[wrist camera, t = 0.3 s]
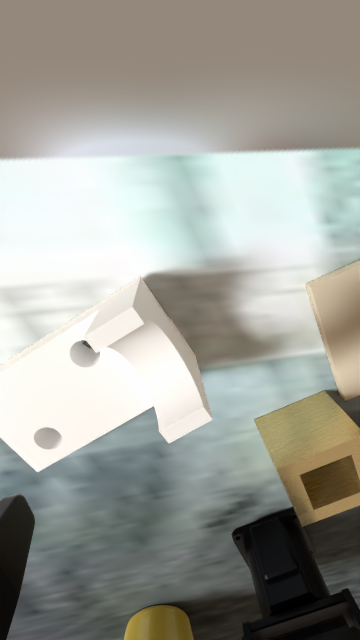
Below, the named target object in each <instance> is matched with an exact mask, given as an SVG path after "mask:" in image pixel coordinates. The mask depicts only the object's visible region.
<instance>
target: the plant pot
mask: <svg viewBox="0 0 360 640" xmlns="http://www.w3.org/2000/svg"><path fill="white" fill-rule="evenodd" d="M124 640H194V638H193V633H192V629H191V625H190V621H189V618H188V616H187V614H186V613H185V612H184V611H183V610H181V609H180V608H177V607H175V606H170V605H155V606H150V607H147V608H144V609H142V610H140V611H139V612H137V613H136V614H135V615H133V616H132V618H131V619H130V620H129V622H128V625H127V629H126V632H125V637H124Z"/></svg>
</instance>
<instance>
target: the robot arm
mask: <svg viewBox="0 0 360 640" xmlns="http://www.w3.org/2000/svg"><path fill="white" fill-rule="evenodd" d="M34 525H35V519H34V515H33V513H32V511H31V509H30V507H29V505H28V503H27V501H26V499H25V497H24V496H23V495H22V494H16V495H11V496H7V497H5V498H3V499H2V500H1V501H0V640H6V638H7V635H8V632H9V628H10V625H11V622H12V619H13V615H14V612H15V609H16V605H17V601H18V598H19V594H20V590H21V586H22V582H23V577H24V572H25V568H26V563H27V558H28V554H29V549H30V544H31V539H32V535H33V530H34ZM232 538H233V541H234V543H235V544H236V546H237V548H238V550H239V551H240V553H241V555H242V556H243V558H244V560H245V562H246V563H247V565H248V567H249V569H250V571H251V575H252V579H253V583H254V587H255V591H256V594H257V598H258V602H259V606H260V610H261V614H262V618H261V619H258V620H255V621H252V622H249V621H247V622H244V623H243V631H244V636H243V637H242V640H360V610H359V608H358V606H357V604H356V602H355V600H354V598H353V597H352V595H351V593H350V591H349V589H348V588H347V589H343V590H341V591H342V592H340V593H337V594H334V595H330V593H329V591H328V588H327V586H326V584H325V582H324V580H323V577H322V575H321V573H320V571H319V568H318V566H317V564H316V562H315V560H314V557H313V555H314V554H315V550H314V547H313V545H312V543H311V541H310V538H309V536H308V534H307V531H306V529H305V527H304V526H303V527H302V525H301V523H300V521H299V519H298V516H297V514H296V512H295V510H294V509H290V510H287V511H285V512H282V513H280V514H277V515H274V516H272V517H269V518H267V519H264V520H261V521H259V522H256V523H254V524H251V525H248V526H246V527H243V528H241V529H238V530H235V531H233V533H232Z"/></svg>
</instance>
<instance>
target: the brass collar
mask: <svg viewBox="0 0 360 640" xmlns="http://www.w3.org/2000/svg"><path fill="white" fill-rule="evenodd" d="M254 421H255V423H256V426H257V428H258V430H259V432H260V435H261V437H262V439H263V441H264V444H265V446H266V448H267V450H268V453H269V455H270V457H271V459H272V462H273V464H274V466H275V468H276V471H277V473H278V475H279V477H280V479H281V482H282V484H283V486H284V488H285V490H286V492H287V495H288V497H289V499H290V501H291V503H292V505H293V508H294V510H295V512H296V514H297V516H298V519H299V521H300V523H301V525H302V527H303V526H306V525H309V524H311V523H314V522H317V521H319V520H322V519H325V518H327V517H330V516H333V515H335V514H338V513H340V512H343V511H346V510H348V509H351V508H354V507H356V506H359V505H360V428H359V427H358V426H357V425H356V424H355V423H354V422H353V420H352V419H351V418H350V417H349V416H348V415H347V414H346V413H345V412H344V411H343V410H342V409H341V408H340V407H339V406H338V404H337V403H336V402H335V401H334V400H333V399H332V398H331V397H330V396H329V395H328V394H327V393H326V392H325V391H322V392H320V393H318V394H315V395H313V396H310V397H308V398H305V399H303V400H301V401H298V402H296V403H293V404H291V405H288V406H286V407H284V408H281V409H279V410H276V411H274V412H271V413H269V414H267V415H264V416H262V417H259V418H257V419H254Z"/></svg>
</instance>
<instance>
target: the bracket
mask: <svg viewBox="0 0 360 640" xmlns="http://www.w3.org/2000/svg"><path fill="white" fill-rule="evenodd" d="M82 340H86V341H87V342H88V344H89V345H90V346H91V347H92V349H90V348H88V347H86V346H85V345H84V344H83V343H82V342H81V341H82ZM153 406H154V408H155V411H156V414H157V419H158V424H159V432H160V433H161V434H162V435H163V437H164V438H165V439H166V440H167V442H168V443H171V442H173V441H174V440H176V439H178V438H180V437H182V436H184V435H185V434H187V433H189V432H191V431H193V430H194V429H196V428H198V427H200V426H202V425H204V424H205V423H207V422H209V421H211V420H213V419H212V416H211V412H210V408H209V404H208V401H207V397H206V393H205V389H204V386H203V382H202V378H201V374H200V371H199V367H198V363H197V359H196V356H195V354H194V353H193V351H192V350H191V348H190V347H189V345H188V344H187V342H186V341H185V339H184V338H183V336H182V335H181V333H180V332H179V330H178V329H177V327H176V326H175V324H174V323H173V321H172V320H171V318H170V317H169V318H168V316H167V315H166V313H165V312H164V310H163V309H162V307H161V306H160V305H159V303H158V302H157V300H156V299H155V297H154V296H153V294H152V293H151V291H150V290H149V288H148V287H147V285H146V284H145V282H144V281H143V279H142V278H141V276H140V277H138V278H137V279H135V280H133V281H132V282H130V283H129V284H127V285H125V286H124V287H122V288H121V289H119V290H118V291H116V292H114V293H113V294H111V295H110V296H108V297H107V298H105V299H103V300H102V301H100V302H99V303H97V304H96V305H94V306H92V307H91V308H89V309H88V310H86V311H84V312H83V313H81V314H80V315H78V316H77V317H75V318H73V319H72V320H70V321H69V322H67V323H66V324H64V325H62V326H61V327H59V328H58V329H56V330H55V331H53V332H51V333H50V334H48V335H47V336H45V337H44V338H42V339H40V340H39V341H37V342H36V343H34V344H32V345H31V346H29V347H28V348H26V349H25V350H23V351H21V352H20V353H18V354H17V355H15V356H14V357H12V358H10V359H9V360H7V361H6V362H4V363H3V364H1V365H0V438H1V439H3V440H4V441H5V442H6V443H7V444H8V445H9V446H10V447H11V448H12V449H13V450H14V451H15V452H16V453H17V454H18V455H20V456H21V457H22V458H23V459H24V460H25V461H26V462H27V463H28V464H29V465H30V466H31V467H32V468H33V469H34V470H36V471H37V472H39V471H41V470H42V469H44V468H46V467H48V466H49V465H51V464H53V463H55V462H56V461H58V460H60V459H62V458H63V457H65V456H67V455H69V454H70V453H72V452H74V451H76V450H77V449H79V448H81V447H83V446H84V445H86V444H88V443H90V442H91V441H93V440H95V439H97V438H98V437H100V436H102V435H104V434H105V433H107V432H109V431H111V430H112V429H114V428H116V427H118V426H119V425H121V424H123V423H125V422H126V421H128V420H130V419H132V418H133V417H135V416H137V415H139V414H140V413H142V412H144V411H146V410H147V409H149V408H151V407H153Z"/></svg>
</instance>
